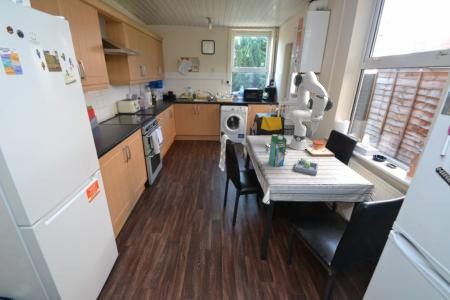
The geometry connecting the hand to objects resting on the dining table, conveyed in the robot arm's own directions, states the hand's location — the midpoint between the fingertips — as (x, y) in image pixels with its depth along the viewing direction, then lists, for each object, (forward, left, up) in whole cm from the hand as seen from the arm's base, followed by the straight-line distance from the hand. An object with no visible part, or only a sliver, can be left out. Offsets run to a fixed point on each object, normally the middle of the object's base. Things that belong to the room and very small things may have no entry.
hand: (313, 133), depth 166 cm
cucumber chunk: (+11, 0, -26) cm, 28 cm away
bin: (+11, 0, -27) cm, 29 cm away
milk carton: (+14, -24, -27) cm, 39 cm away
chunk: (0, -4, -27) cm, 27 cm away
